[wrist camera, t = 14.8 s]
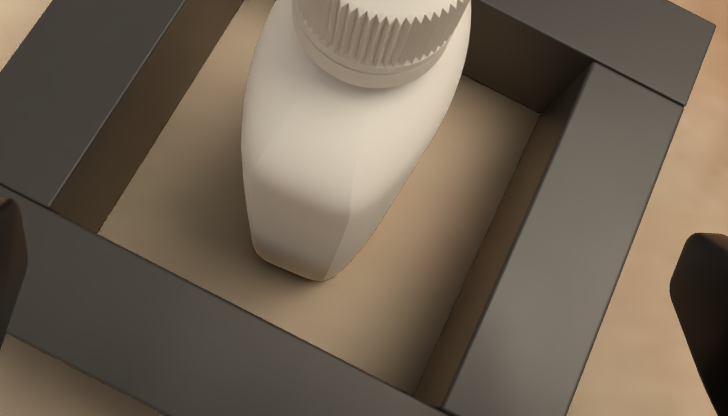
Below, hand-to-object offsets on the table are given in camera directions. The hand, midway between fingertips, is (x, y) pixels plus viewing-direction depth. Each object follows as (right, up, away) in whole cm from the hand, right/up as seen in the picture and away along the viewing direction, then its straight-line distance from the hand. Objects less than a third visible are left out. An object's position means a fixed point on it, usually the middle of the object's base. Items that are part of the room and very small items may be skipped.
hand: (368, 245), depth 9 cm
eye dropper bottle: (-1, +1, +10) cm, 10 cm away
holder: (-1, +1, +9) cm, 10 cm away
